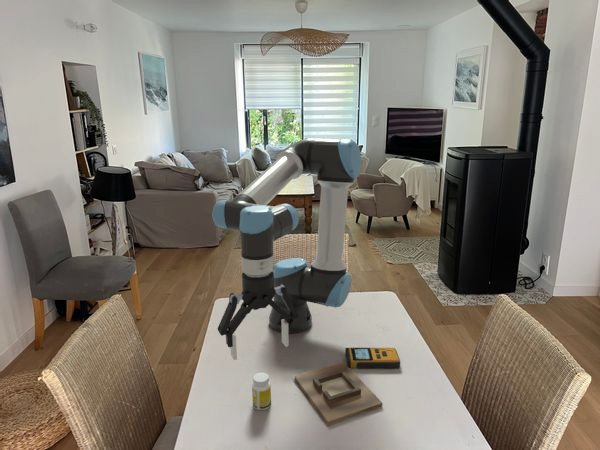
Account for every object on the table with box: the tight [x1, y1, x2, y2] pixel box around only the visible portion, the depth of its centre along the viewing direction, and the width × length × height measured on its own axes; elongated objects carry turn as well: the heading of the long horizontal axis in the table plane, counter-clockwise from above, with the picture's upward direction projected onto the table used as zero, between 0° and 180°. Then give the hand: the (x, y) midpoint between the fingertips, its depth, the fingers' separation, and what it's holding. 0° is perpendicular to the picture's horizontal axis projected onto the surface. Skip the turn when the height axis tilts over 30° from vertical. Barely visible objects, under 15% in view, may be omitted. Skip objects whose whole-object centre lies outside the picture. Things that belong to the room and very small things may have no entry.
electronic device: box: [344, 347, 401, 370], centre depth 133 cm, size 8×16×3 cm, turn 90°
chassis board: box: [293, 361, 383, 426], centre depth 119 cm, size 20×16×3 cm
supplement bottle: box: [251, 372, 272, 411], centre depth 114 cm, size 5×5×8 cm
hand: (260, 350), depth 110 cm, fingers open, 13 cm apart
